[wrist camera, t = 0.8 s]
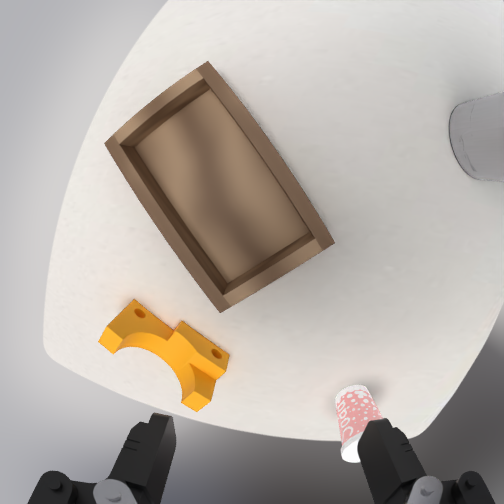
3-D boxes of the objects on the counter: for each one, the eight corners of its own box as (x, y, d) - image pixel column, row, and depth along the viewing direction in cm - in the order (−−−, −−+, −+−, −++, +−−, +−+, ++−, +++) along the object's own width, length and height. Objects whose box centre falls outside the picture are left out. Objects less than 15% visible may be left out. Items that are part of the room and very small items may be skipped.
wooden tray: (215, 75, 21) (208, 61, 18) (325, 234, 25) (335, 242, 21) (122, 146, 23) (104, 143, 20) (225, 296, 27) (220, 313, 23)
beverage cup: (353, 373, 29) (387, 464, 15) (382, 389, 29) (417, 469, 16) (319, 403, 30) (336, 493, 17) (349, 416, 31) (371, 497, 17)
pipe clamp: (229, 353, 29) (221, 392, 23) (207, 374, 30) (196, 412, 24) (142, 287, 27) (113, 314, 21) (125, 313, 28) (98, 341, 22)
